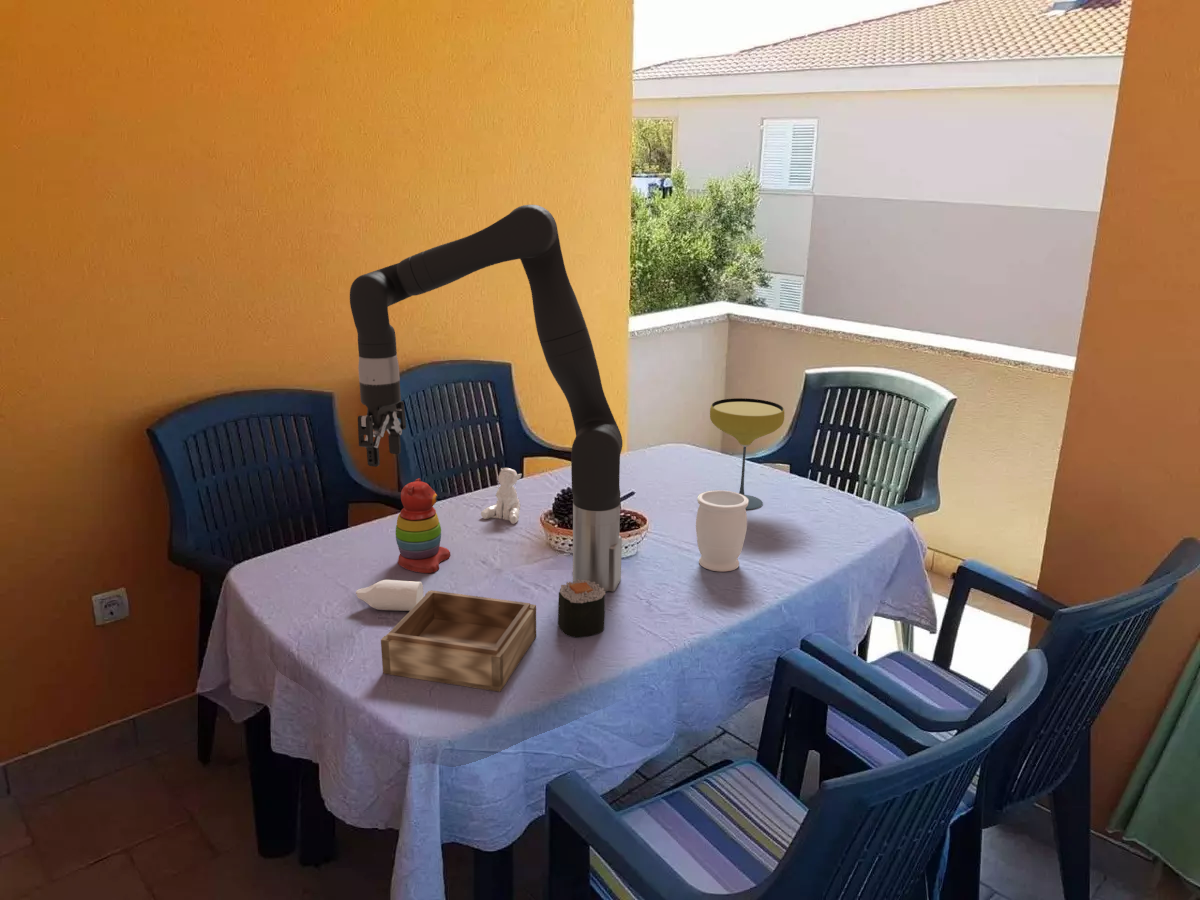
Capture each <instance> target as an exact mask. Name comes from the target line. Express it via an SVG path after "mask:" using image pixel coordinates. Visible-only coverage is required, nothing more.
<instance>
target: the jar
mask: <svg viewBox="0 0 1200 900" xmlns="http://www.w3.org/2000/svg"><path fill="white" fill-rule="evenodd" d="M744 495H745V494H744ZM744 495H742V494H739V492H735V491H731V490H721V489H720V490H717V489H716V490H715V489H714V490H708V491H704V492H700V494H698V496H697V500H696V501H697V504H698V505H699V506H698V507H697V508H698V509H697V512H696V516H695V517H696V518H695V520H696V521H695V533H696V539H697V540H696V541H697V548H698V551H699V554H700V555H701V556H700V557H699V558H698V562H699V565H700V566H701V567H702V568H704V569H707V570H709V571H714V572H721V573H723V572H731V571H734V570H736V569H738V568H739V566H740V561H739V559H738V558H739V557H740V556H741V553H742V550H743V547H744V543H745V540H746V535H747V529H748V515H747V510H746V509H745V508H746V507H747V506H748V501H749V500H748V498H747V497H746V496H744Z"/></svg>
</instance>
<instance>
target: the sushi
mask: <svg viewBox="0 0 1200 900" xmlns="http://www.w3.org/2000/svg"><path fill="white" fill-rule="evenodd" d="M598 586H599V584H596V585H595V582H592V583H591V582H590V581H587V580H581V581H580V580H579V579H577V581H576V582H575V581H573V580H572V581H567V582H566V583H565V584H561V585H560V589H559V592H558V602H557V603H558V605H557V607H558V609H557V611H558V612H557V625H558V627H559V629H560V630H561V632H562V633H563V635H566V636H567V637H571V638H584V637H585V638H586V637H590V636H595V635H598V634H600V633H602V632H603V631H604V630H605V613H606V611H605V609H606V605H605V603H606V602H605V601H606V599H605V598H606V597H605V595H606V591H603V590H604V588H600V587H598Z"/></svg>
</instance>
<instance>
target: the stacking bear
mask: <svg viewBox="0 0 1200 900" xmlns="http://www.w3.org/2000/svg"><path fill="white" fill-rule="evenodd" d="M400 500H401V504H402V506H403V508H402V509H401V511H400V512H399V514H398V515H397V518H396V526H395V540H396V544H397V547H398V551H399V555H398V559H397V563H398V565H399V566H400V567H402V568H403V569H406V570H408V571H411V572H416V573H423V574H431V573H435V572H437V571H438V570H439V569H440V566H439V564H440V563H441V562H442V561H446V560H448V559H449V558H450V557H451V551H450V550H449V549H448V548H447V547H445V546H440V545H441V539H442V527H441V523H440V519H439V517H438V513H437V510H436V508H434V506H435V504H436V503H437V500H438V494H437V493H436V491H435V490H434V489H433V488H432V487H431V486H430V485H429V484H428V483H427V482H424V481H422V480H421V478H416V479H415V480H414V481H412V482H408V483H407V484H406V485H404V486H403V487H402V489H401V491H400Z"/></svg>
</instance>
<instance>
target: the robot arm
mask: <svg viewBox="0 0 1200 900" xmlns="http://www.w3.org/2000/svg"><path fill="white" fill-rule="evenodd" d="M514 260H515V261H516V260H520V262H521V265H522V267H523V270H524V272H525V275H526V277H527V281H528V284H529V288H530V292H531V300H532V306H533V316H534V321H535V327H536V332H537V336H538V340H539V343H540V346H541V349H542V352H543V355H544V359H545V362H546V364H547V366H548V368H549V370H550V372H551V374H552V376H553V379H555V381H556V383H557V385H558V387H559V388H560V389H561V392H562V393H563V395H564V397H565V398H566V399H565V400H566V401H567V404H568V407H569V409H570V413H571V416H572V421H573V426H574V432H575V438H574V440H573V442H572V446H571V456H570V457H571V461H570V462H571V467H570V468H571V469H570V470H571V473H570V474H571V492H572V582H573V581H575V582H576V581H577V579H579V580H580V581H581V580H587V581H590V582H591V583H592V582H595V585H596V584H599V586H598V587H600V588H604V590H603V591H605V592H615V591H616V589H617V587H618V586H619V583H620V582H621V579H622V550H623V549H622V548H623V547H622V544H623V543H622V542H623V540H622V539H623V537H622V536H621V535H620V522H621V520H620V519H621V488H620V479H621V478H620V475H621V474H620V472H621V471H620V469H621V468H620V467H621V454H622V453H621V452H622V451H623V437H622V433H621V430H620V429H619V426H618V424H617V422H616V418H614V415H613V412H612V410H611V408H610V405H609V403H608V400H607V398H606V396H605V392H604V388H603V384H602V379H601V375H600V369H599V366H598V361H597V359H596V358H597V357H596V355H595V350H594V346H593V343H592V340H591V335H590V334H589V333H590V332H589V329H588V327H587V323H586V321H585V318H584V315H583V312H582V309H581V307H580V304H579V302H578V298H577V296H576V293H575V291H574V289H573V287H572V285H571V284H572V283H571V282H570V279H569V276H568V273H567V269H566V265H565V261H564V257H563V252H562V248H561V243H560V236H559V231H558V225H557V222H556V219H555V218H554V216H553V214H552V213H551V212H550V211H549V210H548V209H546V208H545V207H543V206H541V205H537V204H524V205H521V206H518V207H516V208H514V209H513V210H512V211H511V212H510V213H508V214H507V215H505V216H504V217H502V218H500V219H499V220H497V221H496V222H493V223H492V224H490V225H489V226H487V227H485V228H483V229H481V230H479V231H477V232H475V233H471V234H470V235H467V236H465V237H462V238H459V239H456V240H453V241H450V242H447V243H443V244H440V245H437V246H434V247H432V248H429V249H426V250H423V251H421V252H418V253H416V254H414V255H410V256H409V257H406V258H404V259H402V260H400V261H399V262H398V263H393V264H391V265H387V266H385V267H383V268H379V269H376V270H374V271H370V272H368V273H363V274H361V275H359V276H357V277H356V278H355V279H354V280H353V282H352V283H351V285H350V290H349V305H350V310H351V316H352V318H353V322H354V325H355V328H356V332H357V350H358V367H357V369H358V382H359V383H358V384H359V392H360V393H359V394H360V395H359V396H360V403H361V404H362V405H364V406H366V408H367V409H366V410H367V411H366V415H361V414H360V415H358V417H357V430H358V431H357V432H358V433H357V434H358V447H361V448H365V449H366V458H367V465H368V466H369V467H375V468H377V467H379V466H380V463H381V462H380V461H381V460H380V447H379V445H380V441H381V439H382V438H383V437H384V434H385V432H386V431H387V433H388V434H389V435H388V436H387V437H388V447H389V451H388V452H389V453H390V454H392V455H399V454H401V453H402V448H401V447H402V445H401V435H403V430H407V429H406V428H407V421H406V411H405V409H406V408H405V401H404V400H402V397H401V383H400V382H401V379H400V365H399V360H398V353H397V350H398V349H397V338H396V332H395V331H396V330H395V328H394V327H393V326H392V325H391V323H390V316H389V307H391V306H393V305H395V304H397V303H399V302H402V301H404V300H406V299H408V298H410V297H412V296H421V295H424V294H426V293H429V292H431V291H434V290H437V289H439V288H442V287H445V286H446V285H450V284H451V283H453V282H455V281H458V280H460V279H462V278H464V277H466V276H469V275H470V274H473V273H475V272H477V271H480V270H483V269H485V268H488V267H490V266H494V265H498V264H502V263H505V262H509V261H514Z"/></svg>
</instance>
